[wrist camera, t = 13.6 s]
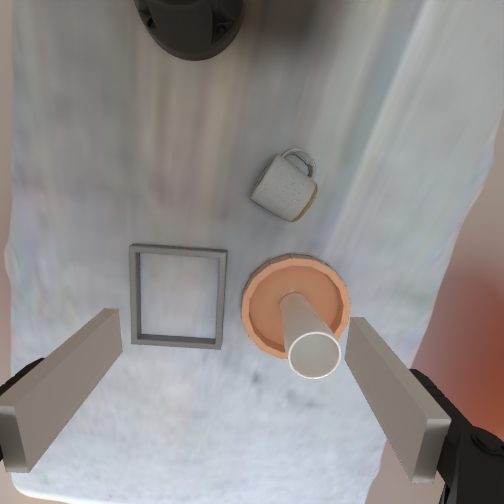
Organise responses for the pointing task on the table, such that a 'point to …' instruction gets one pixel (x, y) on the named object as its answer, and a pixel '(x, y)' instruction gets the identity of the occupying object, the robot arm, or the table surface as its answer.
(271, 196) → the ceramic mug
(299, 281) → the bowl
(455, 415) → the robot arm
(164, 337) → the tray
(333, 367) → the drinking glass
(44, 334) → the table surface
